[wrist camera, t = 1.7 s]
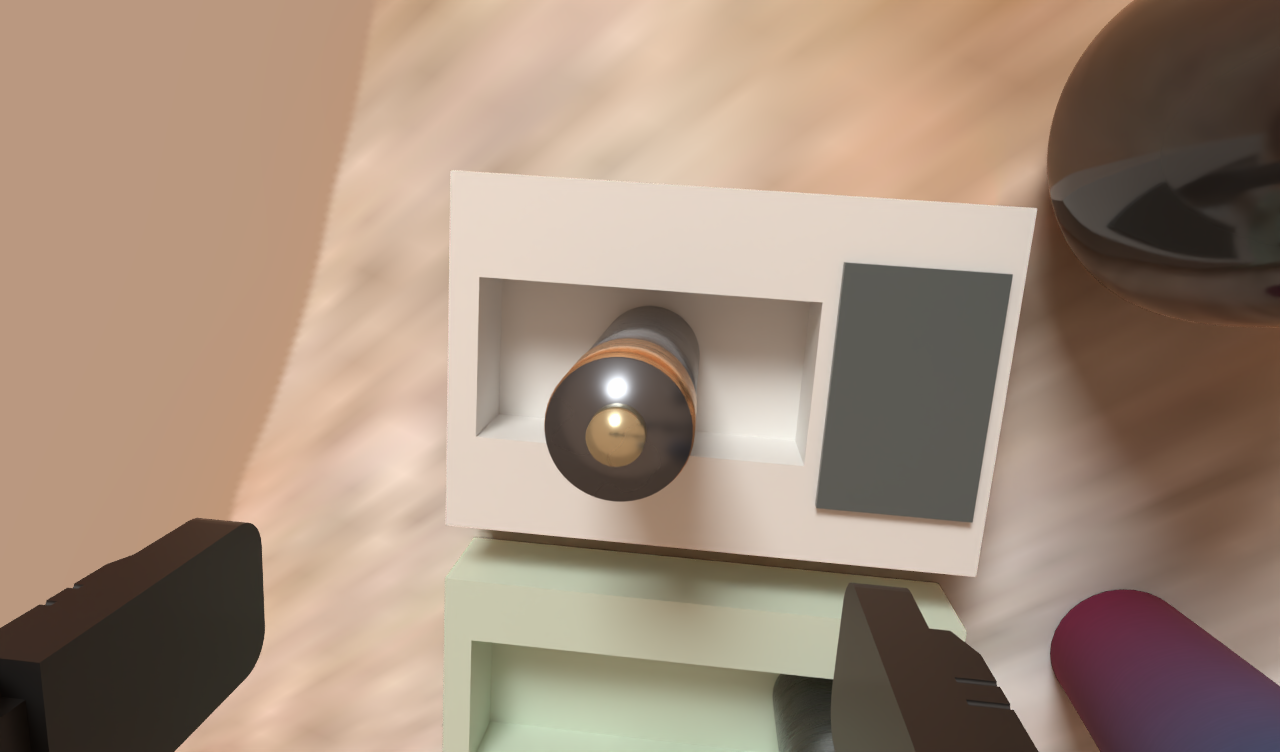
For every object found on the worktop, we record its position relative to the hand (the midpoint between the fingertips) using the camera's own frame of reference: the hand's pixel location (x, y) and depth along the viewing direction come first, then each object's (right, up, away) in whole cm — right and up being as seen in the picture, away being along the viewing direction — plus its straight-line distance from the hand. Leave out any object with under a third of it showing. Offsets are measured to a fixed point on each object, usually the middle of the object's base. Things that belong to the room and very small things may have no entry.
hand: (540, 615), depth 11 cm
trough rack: (+3, -9, +22) cm, 24 cm away
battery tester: (+4, +4, +19) cm, 20 cm away
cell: (+2, +4, +18) cm, 19 cm away
